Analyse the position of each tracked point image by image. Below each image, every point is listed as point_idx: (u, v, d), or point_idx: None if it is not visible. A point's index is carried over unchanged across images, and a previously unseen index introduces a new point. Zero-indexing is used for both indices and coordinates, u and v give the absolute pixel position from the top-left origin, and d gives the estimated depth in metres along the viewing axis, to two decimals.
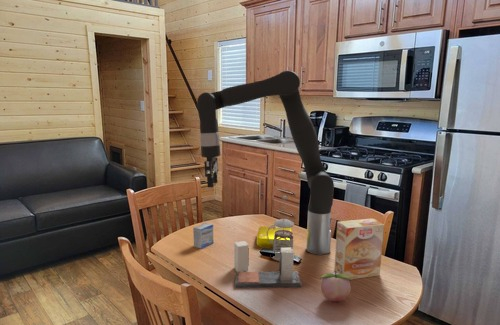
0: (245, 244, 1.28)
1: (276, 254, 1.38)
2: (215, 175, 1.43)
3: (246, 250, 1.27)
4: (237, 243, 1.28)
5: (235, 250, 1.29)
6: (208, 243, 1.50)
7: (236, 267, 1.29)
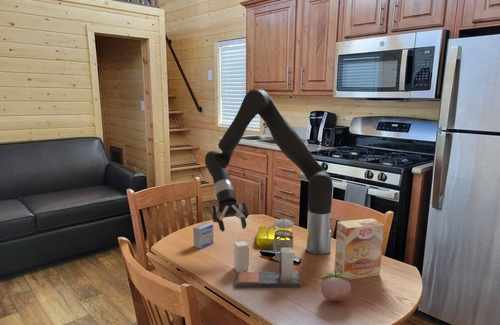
0: (245, 244, 1.28)
1: (276, 254, 1.38)
2: (241, 220, 1.38)
3: (246, 250, 1.27)
4: (237, 243, 1.28)
5: (235, 250, 1.29)
6: (208, 243, 1.50)
7: (236, 267, 1.29)
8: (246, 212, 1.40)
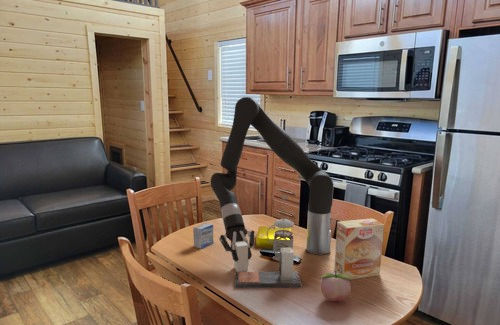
0: (245, 244, 1.28)
1: (276, 254, 1.38)
2: None
3: (246, 250, 1.27)
4: (237, 243, 1.28)
5: None
6: (208, 243, 1.50)
7: (236, 267, 1.29)
8: (252, 241, 1.31)
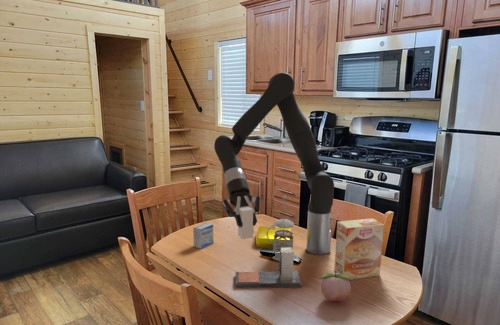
0: (249, 209, 1.19)
1: (276, 254, 1.38)
2: None
3: (250, 215, 1.19)
4: (241, 208, 1.20)
5: None
6: (208, 243, 1.50)
7: (240, 234, 1.20)
8: (257, 207, 1.23)
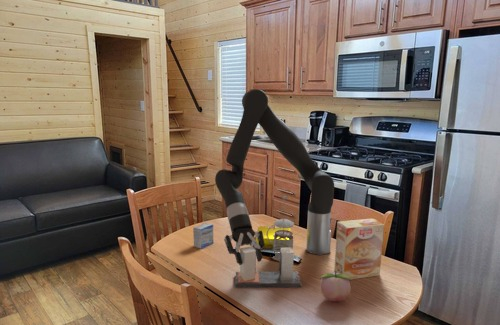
0: (252, 250, 1.19)
1: (276, 254, 1.38)
2: (256, 251, 1.21)
3: (253, 257, 1.18)
4: (244, 249, 1.19)
5: (241, 256, 1.20)
6: (208, 243, 1.50)
7: (242, 275, 1.20)
8: (262, 242, 1.23)
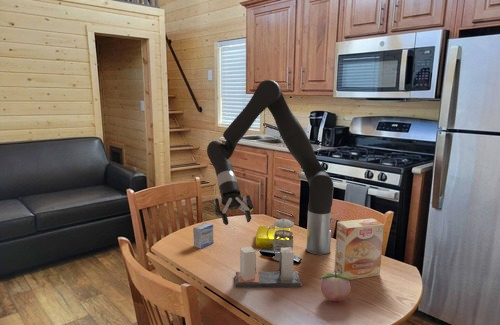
0: (252, 250, 1.19)
1: (276, 254, 1.38)
2: (246, 213, 1.31)
3: (253, 257, 1.18)
4: (243, 249, 1.19)
5: (241, 256, 1.20)
6: (208, 243, 1.50)
7: (242, 275, 1.20)
8: (251, 205, 1.32)
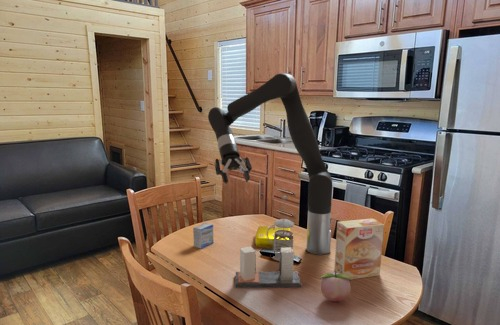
0: (252, 250, 1.19)
1: (276, 254, 1.38)
2: (245, 173, 1.38)
3: (253, 257, 1.18)
4: (243, 249, 1.19)
5: (241, 256, 1.20)
6: (208, 243, 1.50)
7: (242, 275, 1.20)
8: (249, 166, 1.40)
